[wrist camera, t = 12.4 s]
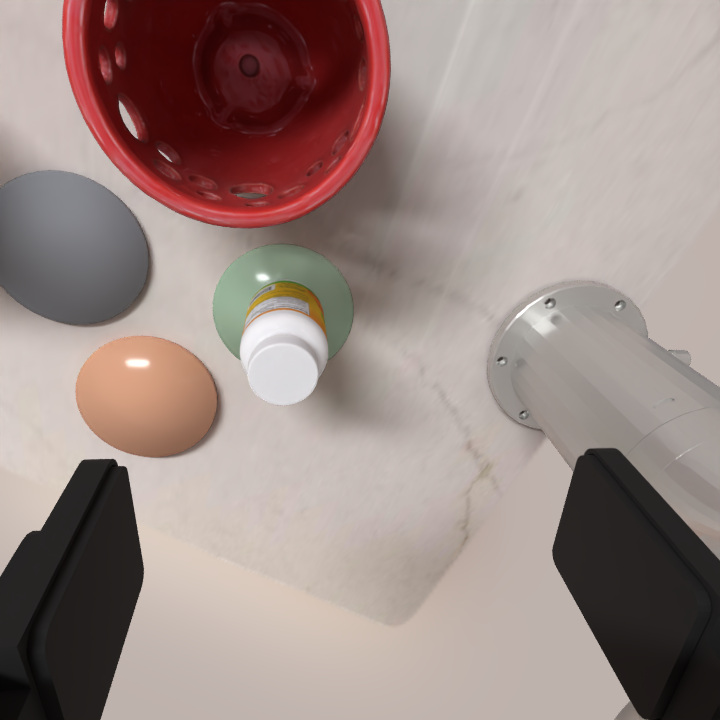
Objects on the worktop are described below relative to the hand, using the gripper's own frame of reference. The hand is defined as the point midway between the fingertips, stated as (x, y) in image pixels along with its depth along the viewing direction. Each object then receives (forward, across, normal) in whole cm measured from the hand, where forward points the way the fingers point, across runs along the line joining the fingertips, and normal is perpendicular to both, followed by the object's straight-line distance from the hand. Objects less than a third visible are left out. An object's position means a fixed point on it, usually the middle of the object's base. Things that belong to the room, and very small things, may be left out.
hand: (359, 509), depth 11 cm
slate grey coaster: (+28, +16, +2) cm, 33 cm away
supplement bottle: (+28, +2, +6) cm, 29 cm away
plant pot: (+28, +4, -8) cm, 30 cm away
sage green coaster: (+29, +2, +6) cm, 30 cm away
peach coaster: (+28, +12, +13) cm, 34 cm away
